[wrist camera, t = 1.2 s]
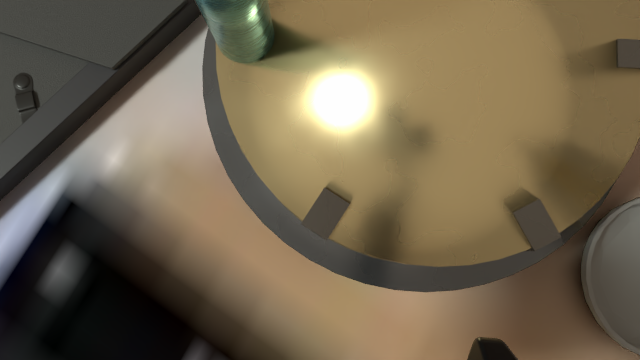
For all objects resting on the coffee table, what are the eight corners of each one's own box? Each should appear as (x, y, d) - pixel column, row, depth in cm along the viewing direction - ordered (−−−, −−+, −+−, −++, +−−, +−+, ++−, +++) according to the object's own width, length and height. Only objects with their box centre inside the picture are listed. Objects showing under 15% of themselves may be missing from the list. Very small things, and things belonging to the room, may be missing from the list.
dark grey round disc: (452, 373, 21) (470, 390, 19) (124, 113, 23) (99, 96, 20) (679, 56, 23) (724, 32, 21) (362, -166, 24) (367, -215, 22)
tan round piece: (462, 351, 19) (602, 452, 10) (147, 104, 20) (-3, -23, 11) (688, 35, 21) (1000, -144, 11) (384, -177, 22) (434, -501, 12)
